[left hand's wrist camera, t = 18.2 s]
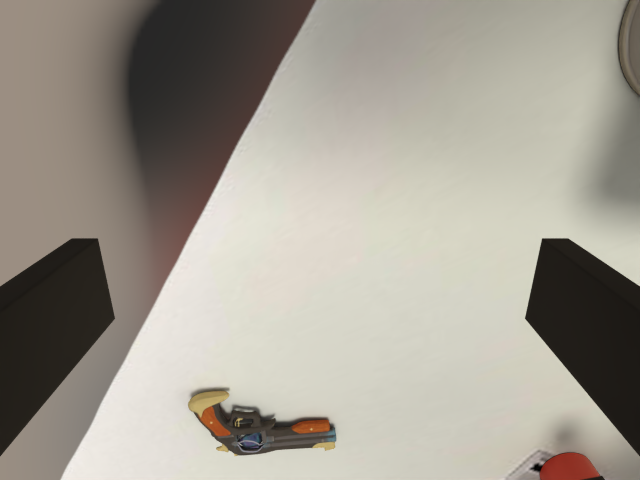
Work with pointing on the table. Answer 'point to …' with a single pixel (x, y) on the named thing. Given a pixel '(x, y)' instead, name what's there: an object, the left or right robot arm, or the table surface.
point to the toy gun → (257, 429)
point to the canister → (568, 468)
